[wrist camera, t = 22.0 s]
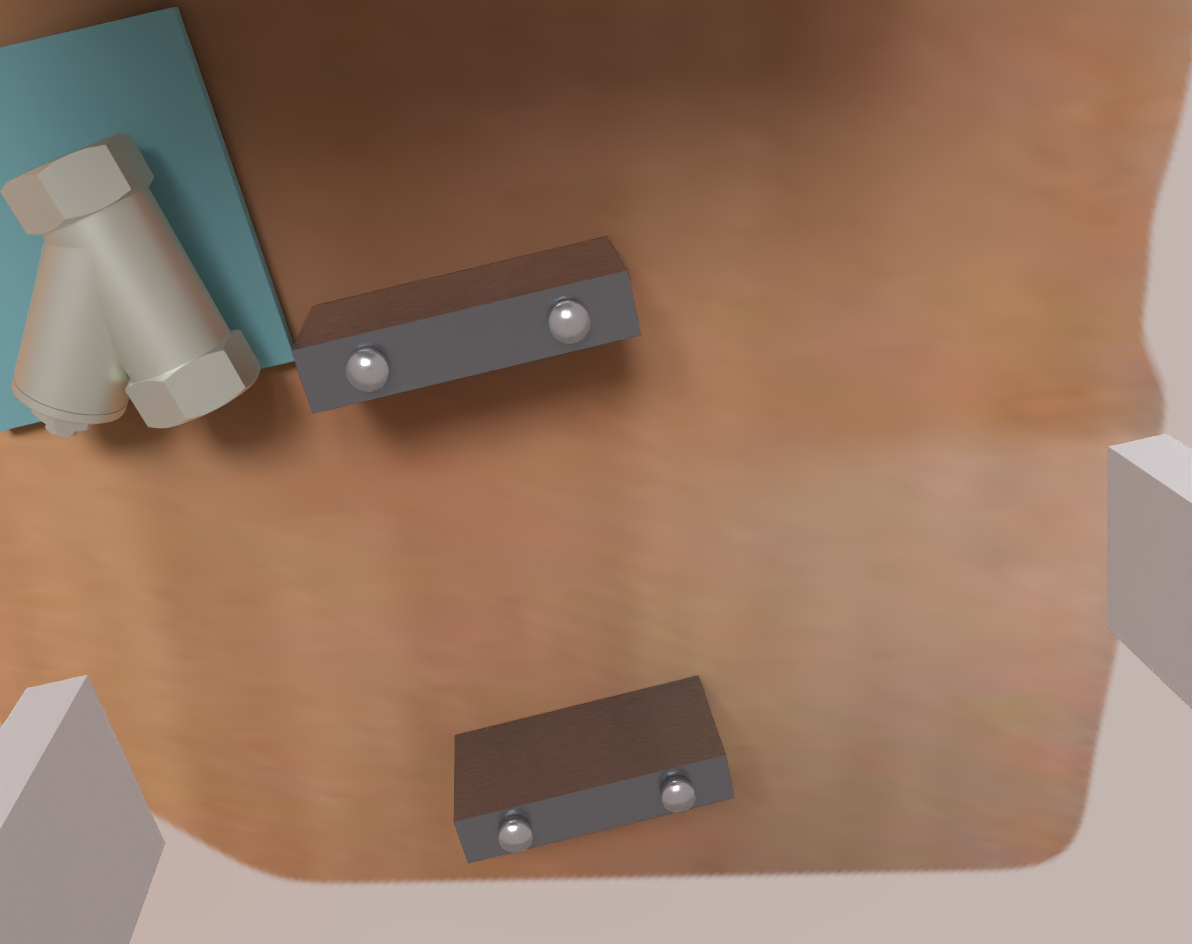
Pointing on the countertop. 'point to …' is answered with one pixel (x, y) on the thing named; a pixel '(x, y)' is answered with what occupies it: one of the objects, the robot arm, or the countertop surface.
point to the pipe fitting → (116, 301)
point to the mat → (170, 148)
